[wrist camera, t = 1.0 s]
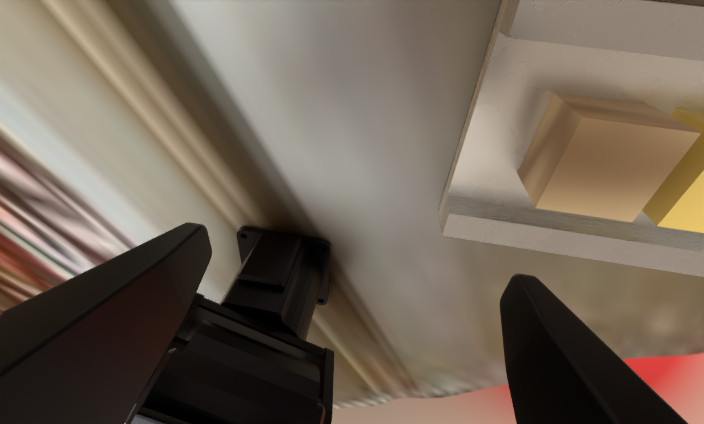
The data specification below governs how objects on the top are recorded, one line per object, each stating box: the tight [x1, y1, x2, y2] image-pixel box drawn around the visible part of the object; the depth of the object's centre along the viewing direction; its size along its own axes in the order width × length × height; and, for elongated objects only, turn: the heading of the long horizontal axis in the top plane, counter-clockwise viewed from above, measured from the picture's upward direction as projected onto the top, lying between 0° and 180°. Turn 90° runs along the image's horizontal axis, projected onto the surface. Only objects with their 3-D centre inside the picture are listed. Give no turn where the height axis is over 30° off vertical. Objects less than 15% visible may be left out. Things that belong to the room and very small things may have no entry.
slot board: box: [439, 0, 704, 277], centre depth 15 cm, size 11×14×2 cm
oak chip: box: [517, 93, 701, 222], centre depth 14 cm, size 4×4×3 cm
